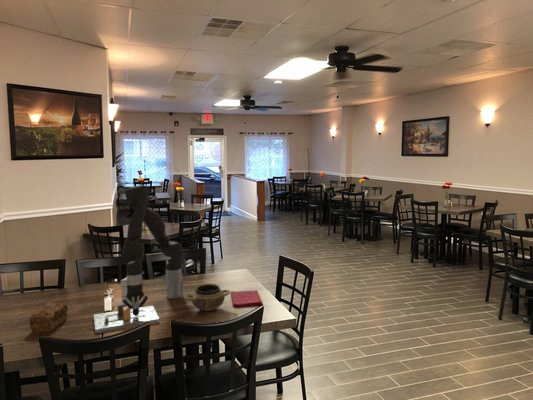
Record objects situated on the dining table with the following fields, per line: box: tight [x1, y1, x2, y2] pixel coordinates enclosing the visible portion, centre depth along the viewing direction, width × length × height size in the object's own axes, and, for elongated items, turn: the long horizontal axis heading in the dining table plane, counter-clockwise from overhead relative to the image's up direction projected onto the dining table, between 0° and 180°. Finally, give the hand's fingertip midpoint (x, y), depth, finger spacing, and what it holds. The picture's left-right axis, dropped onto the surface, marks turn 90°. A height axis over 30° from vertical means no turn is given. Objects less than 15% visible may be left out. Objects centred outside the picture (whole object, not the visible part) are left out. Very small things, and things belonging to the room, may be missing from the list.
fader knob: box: [123, 306, 131, 320], centre depth 206 cm, size 3×5×5 cm, turn 24°
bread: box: [29, 300, 69, 333], centre depth 204 cm, size 19×11×10 cm, turn 1°
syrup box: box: [120, 276, 132, 306], centre depth 233 cm, size 6×6×14 cm
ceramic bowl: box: [184, 283, 231, 314], centre depth 222 cm, size 24×18×15 cm
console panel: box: [93, 301, 160, 334], centre depth 209 cm, size 30×20×7 cm, turn 115°
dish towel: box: [230, 289, 264, 308], centre depth 239 cm, size 17×24×3 cm
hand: (135, 315), depth 208 cm, fingers closed
